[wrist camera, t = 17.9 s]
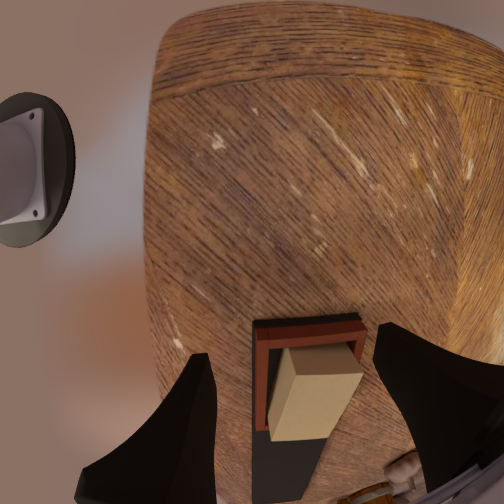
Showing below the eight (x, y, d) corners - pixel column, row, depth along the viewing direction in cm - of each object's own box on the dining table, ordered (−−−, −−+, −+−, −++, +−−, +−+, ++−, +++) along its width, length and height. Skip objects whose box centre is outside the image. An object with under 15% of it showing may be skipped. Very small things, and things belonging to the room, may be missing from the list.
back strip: (252, 500, 33) (253, 511, 31) (252, 320, 20) (255, 340, 18) (299, 495, 34) (302, 506, 31) (357, 312, 21) (370, 329, 18)
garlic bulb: (375, 473, 34) (388, 505, 26) (397, 452, 32) (414, 486, 24) (404, 465, 35) (418, 494, 27) (426, 444, 33) (443, 474, 25)
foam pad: (265, 406, 22) (271, 441, 18) (285, 338, 20) (296, 375, 16) (317, 405, 23) (328, 437, 19) (345, 340, 20) (364, 372, 17)
